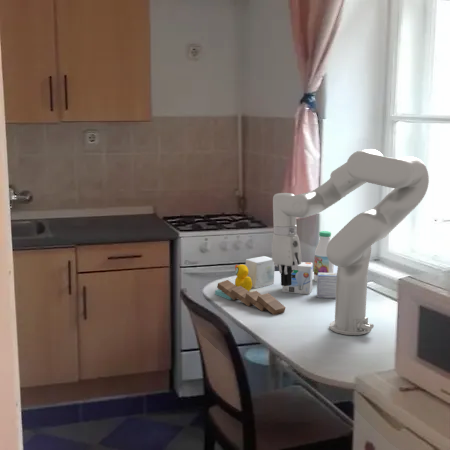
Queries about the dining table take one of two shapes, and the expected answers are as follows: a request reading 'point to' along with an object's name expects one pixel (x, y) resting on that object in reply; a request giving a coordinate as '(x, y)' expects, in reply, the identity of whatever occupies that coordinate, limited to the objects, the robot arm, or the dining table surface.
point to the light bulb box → (301, 279)
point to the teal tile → (222, 294)
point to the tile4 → (227, 288)
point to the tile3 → (241, 294)
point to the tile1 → (271, 303)
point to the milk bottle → (322, 255)
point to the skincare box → (261, 271)
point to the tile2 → (254, 300)
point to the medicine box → (326, 285)
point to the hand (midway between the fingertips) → (286, 285)
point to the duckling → (243, 277)
